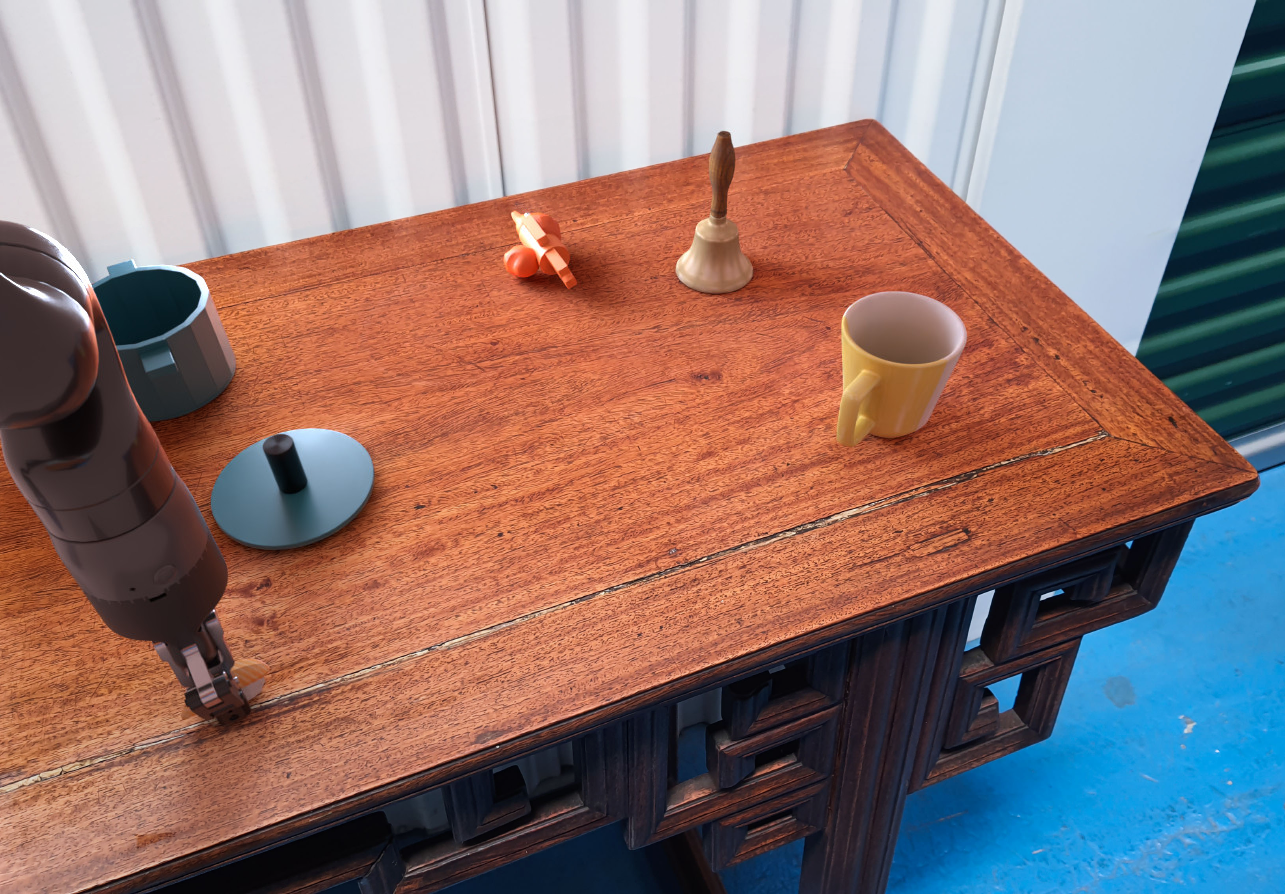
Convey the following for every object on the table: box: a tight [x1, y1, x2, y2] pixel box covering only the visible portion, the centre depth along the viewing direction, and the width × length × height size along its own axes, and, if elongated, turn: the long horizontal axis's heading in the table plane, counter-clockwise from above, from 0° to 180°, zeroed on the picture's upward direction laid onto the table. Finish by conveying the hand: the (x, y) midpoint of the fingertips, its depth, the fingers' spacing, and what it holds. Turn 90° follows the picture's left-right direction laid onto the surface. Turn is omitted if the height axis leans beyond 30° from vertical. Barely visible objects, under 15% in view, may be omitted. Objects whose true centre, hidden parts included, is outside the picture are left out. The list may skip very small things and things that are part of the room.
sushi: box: [180, 658, 271, 721], centre depth 70 cm, size 3×6×3 cm, turn 127°
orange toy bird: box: [503, 210, 578, 290], centre depth 105 cm, size 5×8×12 cm
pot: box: [91, 259, 237, 423], centre depth 92 cm, size 12×18×8 cm
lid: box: [210, 427, 376, 551], centre depth 82 cm, size 13×13×6 cm
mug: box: [835, 290, 968, 448], centre depth 86 cm, size 14×10×10 cm
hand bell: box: [675, 130, 754, 294], centre depth 100 cm, size 8×8×16 cm
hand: (229, 697), depth 70 cm, fingers closed on sushi, 2 cm apart
